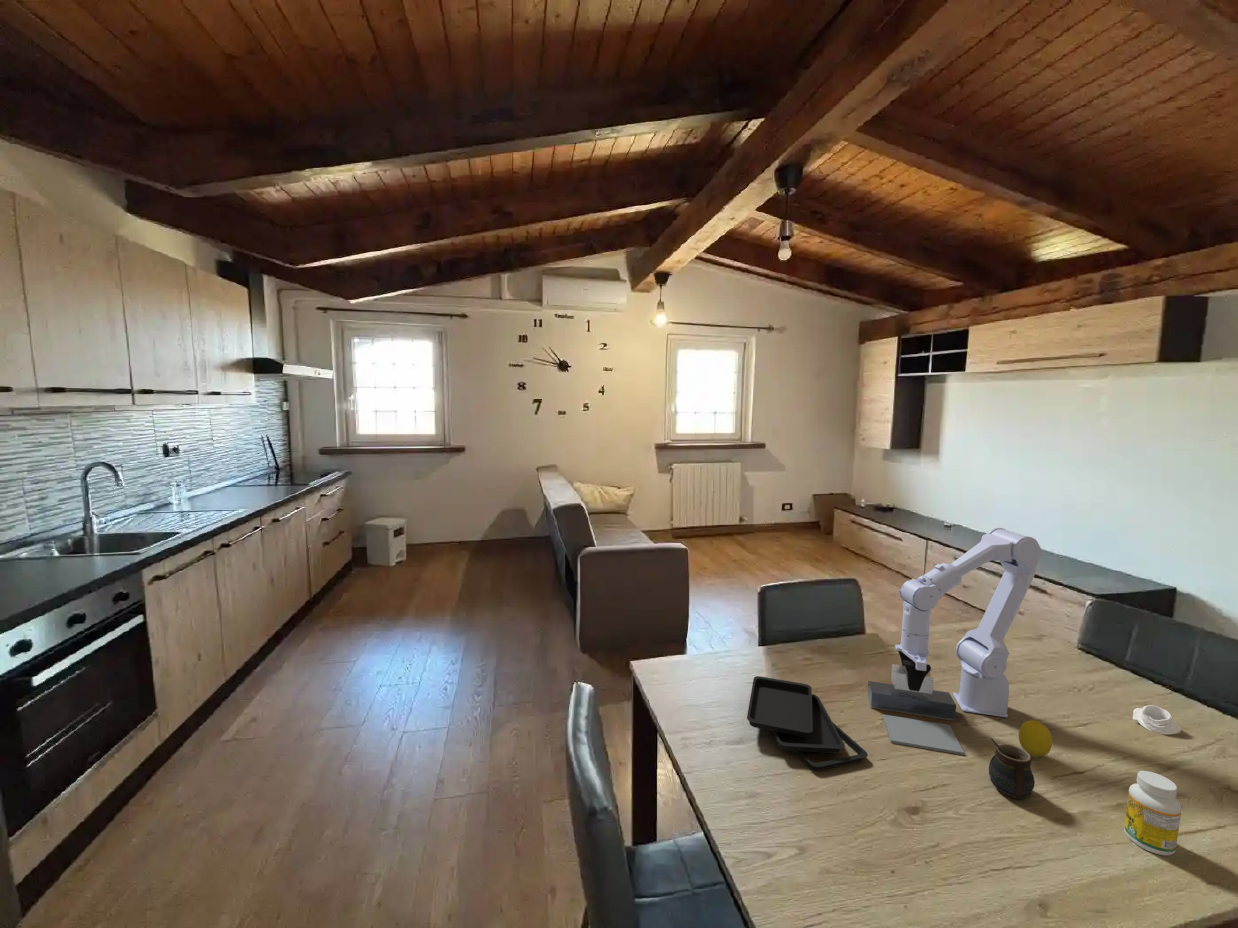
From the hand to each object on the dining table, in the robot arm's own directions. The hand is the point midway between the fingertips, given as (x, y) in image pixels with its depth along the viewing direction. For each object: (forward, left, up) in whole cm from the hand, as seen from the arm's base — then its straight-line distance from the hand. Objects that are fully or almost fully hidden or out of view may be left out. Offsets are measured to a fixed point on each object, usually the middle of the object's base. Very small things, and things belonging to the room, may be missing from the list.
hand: (911, 684), depth 129 cm
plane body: (0, 0, -6) cm, 6 cm away
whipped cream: (-53, -9, -7) cm, 54 cm away
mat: (0, +11, -6) cm, 13 cm away
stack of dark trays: (+28, +18, -7) cm, 34 cm away
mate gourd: (-12, +25, -6) cm, 28 cm away
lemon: (-21, +12, -6) cm, 25 cm away
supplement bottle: (-30, +32, -6) cm, 44 cm away
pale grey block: (0, 0, -1) cm, 1 cm away
